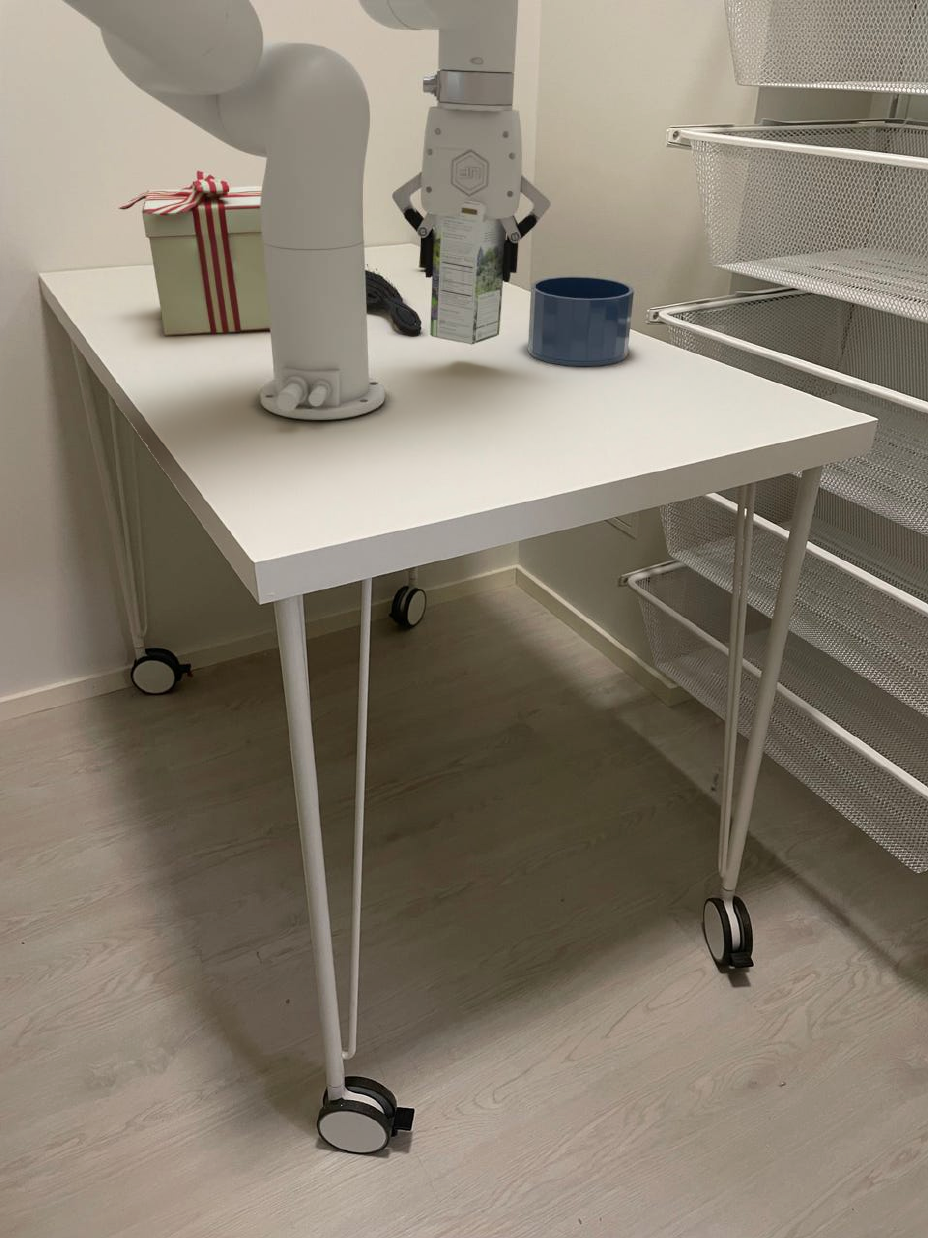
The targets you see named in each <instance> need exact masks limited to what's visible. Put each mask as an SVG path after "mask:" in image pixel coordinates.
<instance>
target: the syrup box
mask: <svg viewBox="0 0 928 1238" xmlns="http://www.w3.org/2000/svg"><path fill="white" fill-rule="evenodd" d="M463 201H465V202H466V203H464V204H463V206H462V211H461V214H460V215H458V216H455V217H451V216H438V215H436V222H435V224H434V227H433V229H434V245H433V276H431V301H430V302H431V305H430V326H429V327H430V328H429V330H430V331H429V334H430V337H432V338H436V339H440V340H446V341H451V342H455V343H462V344H467V345H475V344H478V343H481V342H484V341H487V340H489V339H492V338H495V337H497V336H499V335H500V329H501V327H500V326H501V315H502V300H503V286H504V281H502V274H503V256H504V243H505V240H507V233H506V231H505V229H504V227H503V225H502V223H501V221H500V219H488V218H487V217H486V205H484V204H483V203H480V202H474V201H467V200H463Z"/></svg>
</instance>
